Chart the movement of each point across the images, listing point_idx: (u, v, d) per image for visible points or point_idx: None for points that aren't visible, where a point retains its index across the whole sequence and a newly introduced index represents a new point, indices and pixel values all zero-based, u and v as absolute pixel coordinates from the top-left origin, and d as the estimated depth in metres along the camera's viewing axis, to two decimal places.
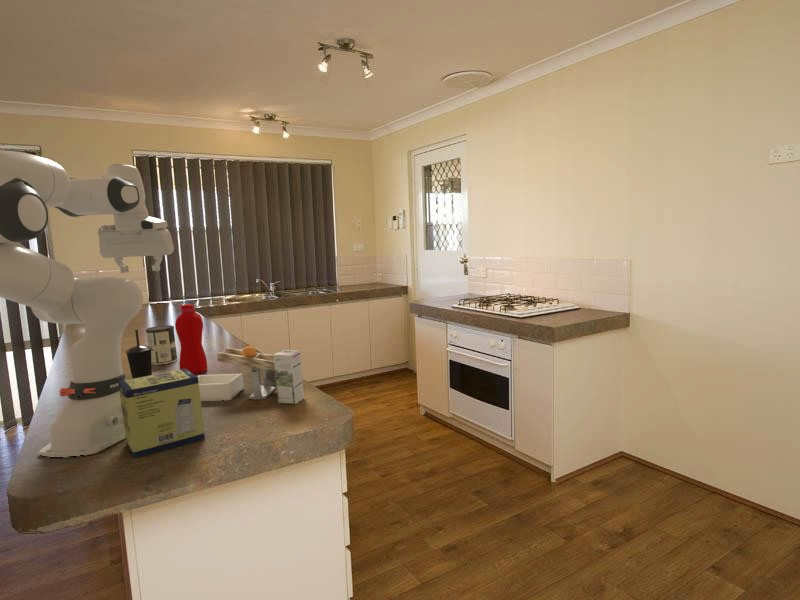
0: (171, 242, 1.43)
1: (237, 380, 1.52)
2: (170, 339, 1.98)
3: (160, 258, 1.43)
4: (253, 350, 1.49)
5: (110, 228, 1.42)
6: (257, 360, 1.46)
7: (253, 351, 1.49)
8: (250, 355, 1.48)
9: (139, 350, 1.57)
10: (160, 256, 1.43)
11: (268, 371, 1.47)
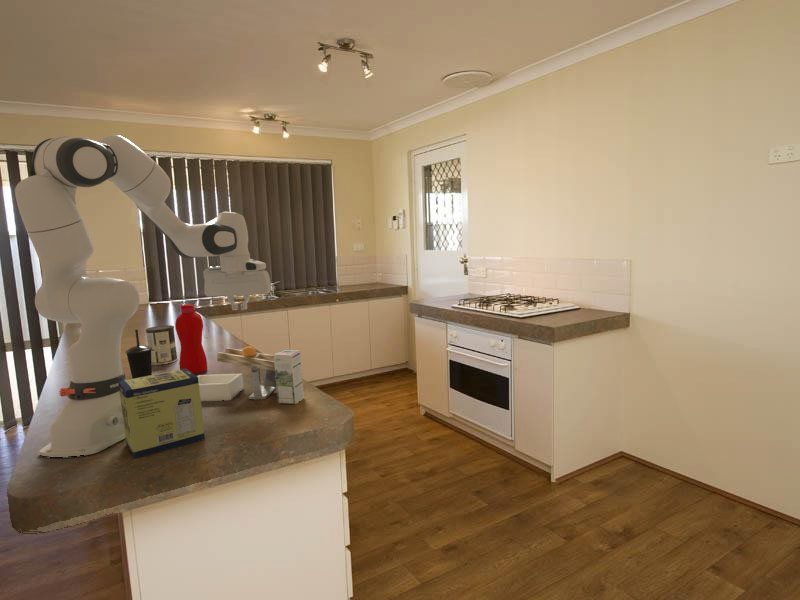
0: (269, 282, 1.55)
1: (237, 380, 1.52)
2: (170, 339, 1.98)
3: (248, 297, 1.54)
4: (253, 350, 1.49)
5: (214, 269, 1.54)
6: (257, 360, 1.46)
7: (253, 351, 1.49)
8: (250, 355, 1.48)
9: (139, 350, 1.57)
10: (248, 295, 1.55)
11: (268, 371, 1.47)
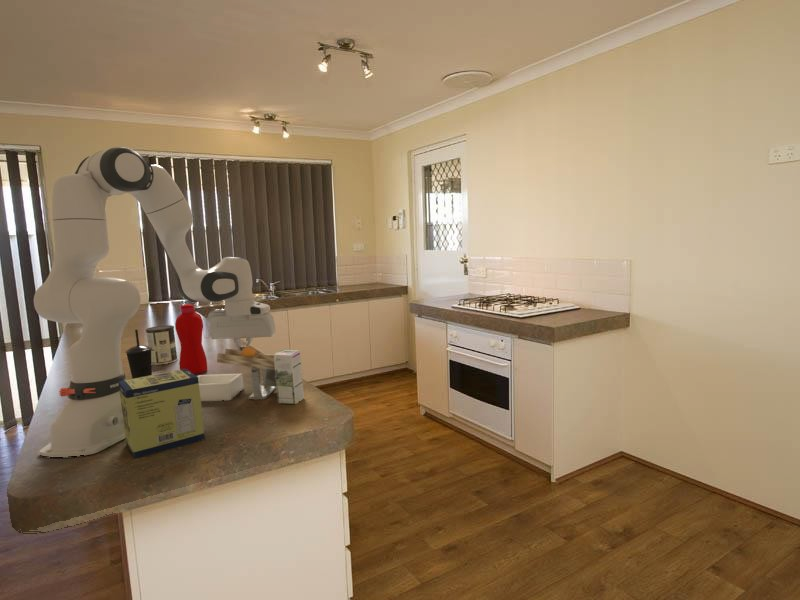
0: (274, 325, 1.57)
1: (237, 380, 1.52)
2: (170, 339, 1.98)
3: (251, 340, 1.56)
4: (253, 350, 1.49)
5: (219, 312, 1.55)
6: (257, 360, 1.46)
7: (253, 351, 1.49)
8: (250, 355, 1.48)
9: (139, 350, 1.57)
10: (251, 338, 1.56)
11: (268, 371, 1.47)
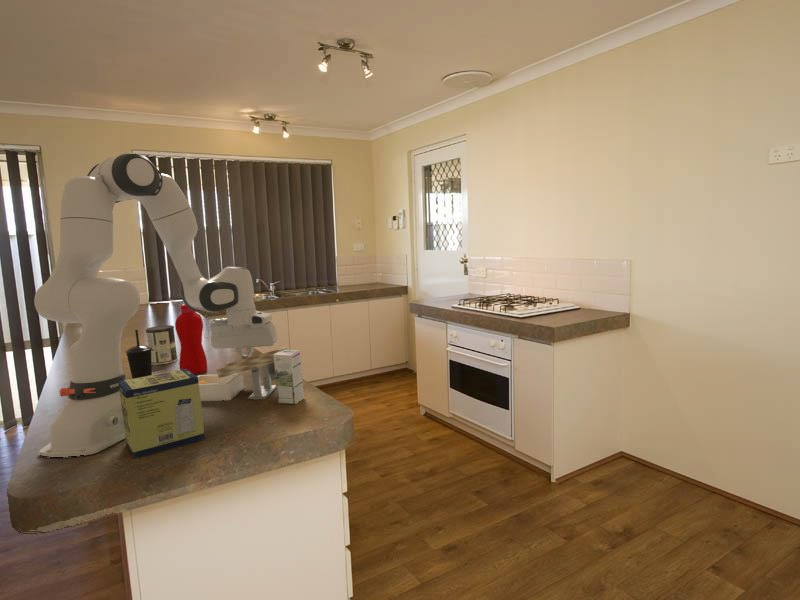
0: (275, 334, 1.57)
1: (237, 380, 1.52)
2: (170, 339, 1.98)
3: (252, 349, 1.57)
4: None
5: (221, 322, 1.56)
6: (254, 360, 1.46)
7: None
8: None
9: (139, 350, 1.57)
10: (252, 347, 1.57)
11: (268, 366, 1.46)
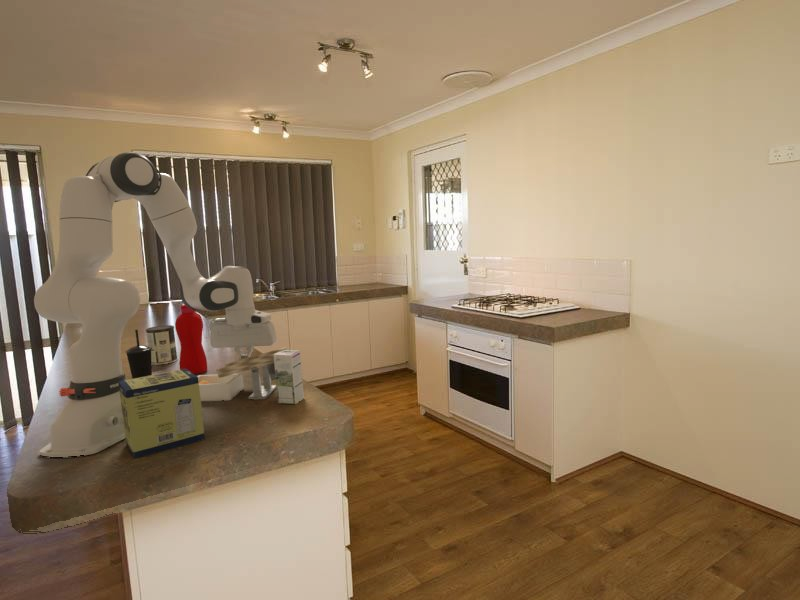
0: (274, 333, 1.57)
1: (237, 380, 1.52)
2: (170, 339, 1.98)
3: (252, 349, 1.56)
4: (199, 383, 1.51)
5: (220, 321, 1.56)
6: (254, 360, 1.46)
7: (199, 382, 1.51)
8: None
9: (139, 350, 1.57)
10: (252, 347, 1.57)
11: (268, 366, 1.46)
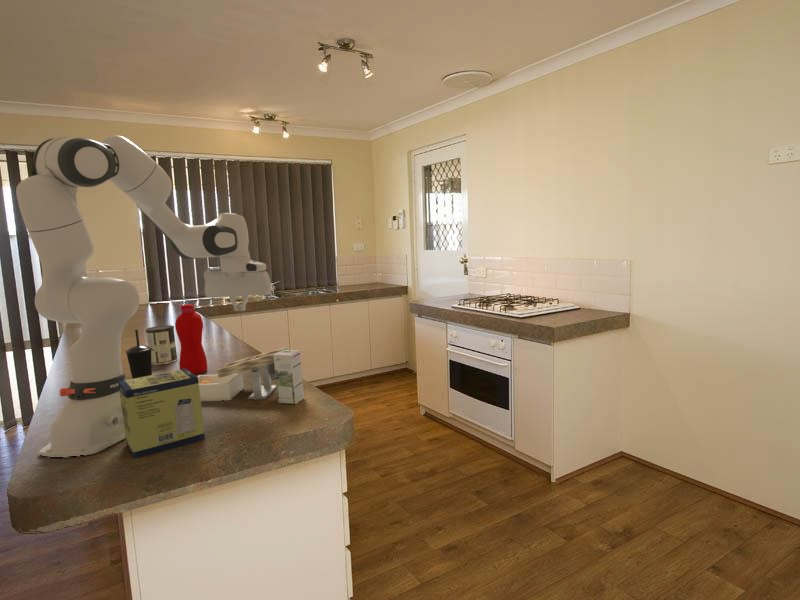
0: (270, 283, 1.55)
1: (237, 380, 1.52)
2: (170, 339, 1.98)
3: (246, 298, 1.54)
4: (201, 382, 1.51)
5: (215, 270, 1.54)
6: (254, 360, 1.46)
7: (202, 382, 1.51)
8: None
9: (139, 350, 1.57)
10: (247, 296, 1.55)
11: (268, 366, 1.46)
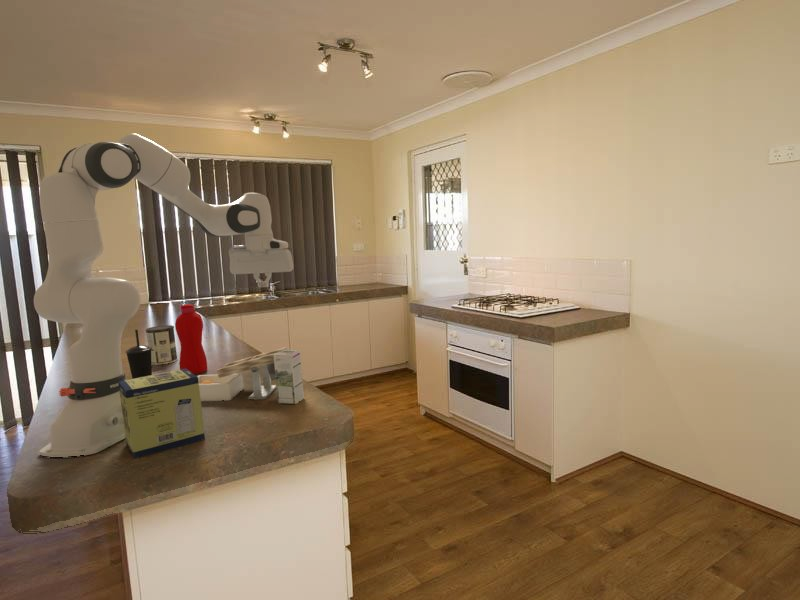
0: (292, 260, 1.62)
1: (237, 380, 1.52)
2: (170, 339, 1.98)
3: (270, 275, 1.61)
4: (204, 381, 1.51)
5: (239, 248, 1.61)
6: (254, 360, 1.46)
7: (205, 382, 1.51)
8: None
9: (139, 350, 1.57)
10: (270, 273, 1.62)
11: (268, 366, 1.46)
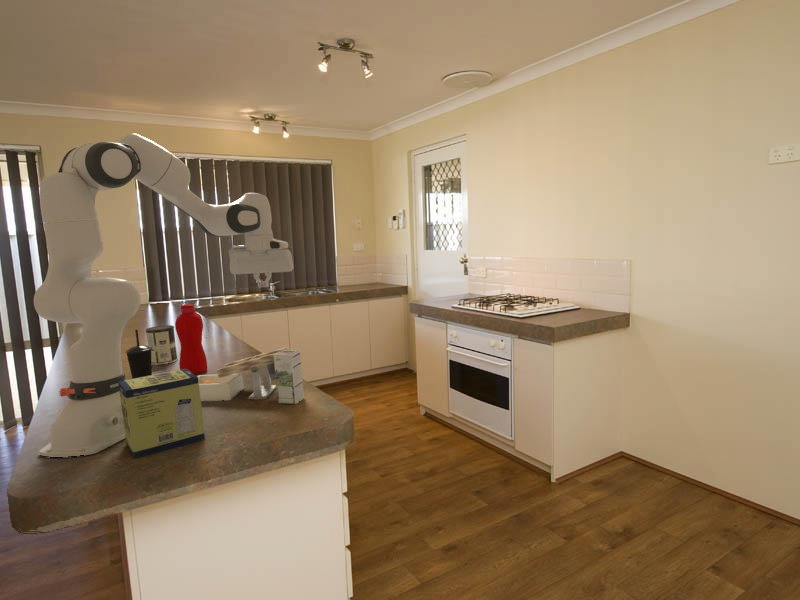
0: (292, 260, 1.62)
1: (237, 380, 1.52)
2: (170, 339, 1.98)
3: (270, 275, 1.61)
4: (206, 381, 1.51)
5: (239, 248, 1.61)
6: (254, 360, 1.46)
7: (207, 382, 1.51)
8: None
9: (139, 350, 1.57)
10: (270, 273, 1.62)
11: (268, 366, 1.46)
